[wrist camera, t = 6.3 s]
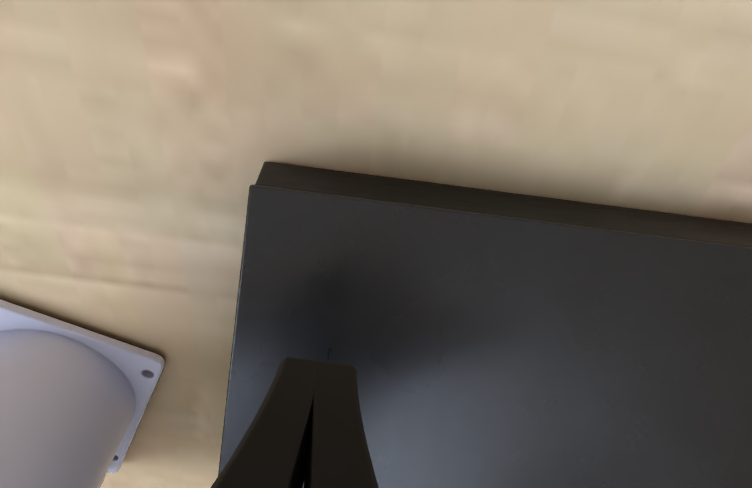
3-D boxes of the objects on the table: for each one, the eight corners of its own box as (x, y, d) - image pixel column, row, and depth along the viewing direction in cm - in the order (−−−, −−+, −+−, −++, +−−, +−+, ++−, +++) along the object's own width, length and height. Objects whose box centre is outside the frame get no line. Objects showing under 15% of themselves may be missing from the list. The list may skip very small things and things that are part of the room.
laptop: (785, 553, 33) (801, 585, 32) (259, 500, 32) (253, 531, 30) (1103, 268, 21) (1154, 300, 19) (264, 160, 19) (253, 186, 18)
